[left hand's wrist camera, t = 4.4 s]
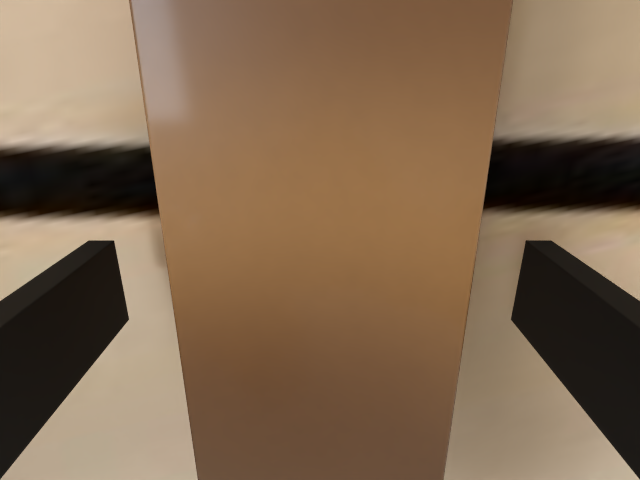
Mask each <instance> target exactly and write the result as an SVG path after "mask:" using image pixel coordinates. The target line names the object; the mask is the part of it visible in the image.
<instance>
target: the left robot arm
mask: <svg viewBox="0 0 640 480" xmlns="http://www.w3.org/2000/svg"><path fill="white" fill-rule="evenodd" d="M128 320H129V317H128V312H127V307H126V301H125V296H124V291H123V285H122V280H121V275H120V270H119V264H118V259H117V254H116V249H115V243H114V241H87V242H86V243H85V244H83V245H82V246H80V247H79V248H77V249H76V250H74V251H73V252H71V253H70V254H68V255H67V256H66V257H64V258H63V259H61V260H60V261H58V262H57V263H55V264H54V265H52V266H51V267H49V268H48V269H47V270H45V271H44V272H42V273H41V274H39V275H38V276H36V277H35V278H33V279H32V280H31V281H29V282H28V283H26V284H25V285H23V286H22V287H20V288H19V289H17V290H16V291H14V292H13V293H12V294H10V295H9V296H7V297H6V298H4V299H3V300H1V301H0V479H1V478H2V476H3V475H4V474H5V473H6V471H7V470H8V469H9V468H10V466H11V465H12V464H13V463H14V461H15V460H16V459H17V458H18V457H19V455H20V454H21V453H22V452H23V450H24V449H25V448H26V447H27V445H28V444H29V443H30V442H31V440H32V439H33V438H34V437H35V435H36V434H37V433H38V432H39V430H40V429H41V428H42V427H43V425H44V424H45V423H46V422H47V421H48V419H49V418H50V417H51V416H52V414H53V413H54V412H55V411H56V409H57V408H58V407H59V406H60V404H61V403H62V402H63V401H64V399H65V398H66V397H67V396H68V394H69V393H70V392H71V391H72V390H73V388H74V387H75V386H76V385H77V383H78V382H79V381H80V380H81V378H82V377H83V376H84V375H85V373H86V372H87V371H88V370H89V368H90V367H91V366H92V365H93V363H94V362H95V361H96V360H97V358H98V357H99V356H100V355H101V354H102V352H103V351H104V350H105V349H106V347H107V346H108V345H109V344H110V342H111V341H112V340H113V339H114V337H115V336H116V335H117V334H118V332H119V331H120V330H121V329H122V327H123V326H124V325H125V324H126V322H127V321H128ZM511 320H512V321H513V323H514V324H515V325H516V326H517V327H518V329H519V330H520V331H521V332H522V334H523V335H524V336H525V337H526V339H527V340H528V341H529V342H530V344H531V345H532V346H533V347H534V349H535V350H536V351H537V352H538V354H539V355H540V356H541V357H542V359H543V360H544V361H545V362H546V363H547V365H548V366H549V367H550V368H551V370H552V371H553V372H554V373H555V375H556V376H557V377H558V378H559V380H560V381H561V382H562V383H563V385H564V386H565V387H566V388H567V390H568V391H569V392H570V393H571V394H572V396H573V397H574V398H575V399H576V401H577V402H578V403H579V404H580V406H581V407H582V408H583V409H584V411H585V412H586V413H587V414H588V416H589V417H590V418H591V419H592V421H593V422H594V423H595V424H596V426H597V427H598V428H599V429H600V430H601V432H602V433H603V434H604V435H605V437H606V438H607V439H608V440H609V442H610V443H611V444H612V445H613V447H614V448H615V449H616V450H617V452H618V453H619V454H620V455H621V457H622V458H623V459H624V460H625V462H626V463H627V464H628V465H629V466H630V468H631V469H632V470H633V471H634V473H635V474H636V475H637V476H638V478H639V479H640V301H639V300H637V299H636V298H634V297H633V296H631V295H630V294H628V293H627V292H626V291H624V290H623V289H621V288H620V287H618V286H617V285H615V284H614V283H612V282H611V281H609V280H608V279H607V278H605V277H604V276H602V275H601V274H599V273H598V272H596V271H595V270H593V269H592V268H590V267H589V266H588V265H586V264H585V263H583V262H582V261H580V260H579V259H577V258H576V257H574V256H573V255H571V254H570V253H569V252H567V251H566V250H564V249H563V248H561V247H560V246H558V245H557V244H555V243H554V242H552V241H526V243H525V249H524V254H523V259H522V264H521V270H520V275H519V280H518V285H517V291H516V296H515V301H514V307H513V312H512V317H511Z"/></svg>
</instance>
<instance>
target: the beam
mask: <svg viewBox="0 0 640 480" xmlns="http://www.w3.org/2000/svg"><path fill="white" fill-rule="evenodd" d="M129 3H130V10H131V17H132V23H133V30H134V37H135V44H136V51H137V58H138V65H139V72H140V79H141V86H142V93H143V100H144V107H145V114H146V121H147V128H148V135H149V142H150V149H151V156H152V163H153V170H154V177H155V184H156V191H157V198H158V205H159V212H160V219H161V226H162V232H163V239H164V246H165V253H166V260H167V267H168V274H169V281H170V288H171V295H172V302H173V309H174V316H175V323H176V330H177V337H178V344H179V351H180V358H181V365H182V372H183V379H184V386H185V393H186V400H187V407H188V414H189V421H190V428H191V434H192V441H193V448H194V455H195V462H196V469H197V476H198V480H443V479H444V472H445V465H446V458H447V451H448V445H449V438H450V431H451V424H452V417H453V410H454V403H455V396H456V389H457V383H458V376H459V369H460V362H461V355H462V348H463V341H464V334H465V327H466V320H467V314H468V307H469V300H470V293H471V286H472V279H473V272H474V265H475V258H476V252H477V245H478V238H479V231H480V224H481V217H482V210H483V203H484V196H485V190H486V183H487V176H488V169H489V162H490V155H491V148H492V141H493V134H494V128H495V121H496V114H497V107H498V100H499V93H500V86H501V79H502V72H503V66H504V59H505V52H506V45H507V38H508V31H509V24H510V17H511V10H512V4H513V0H129Z"/></svg>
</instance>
